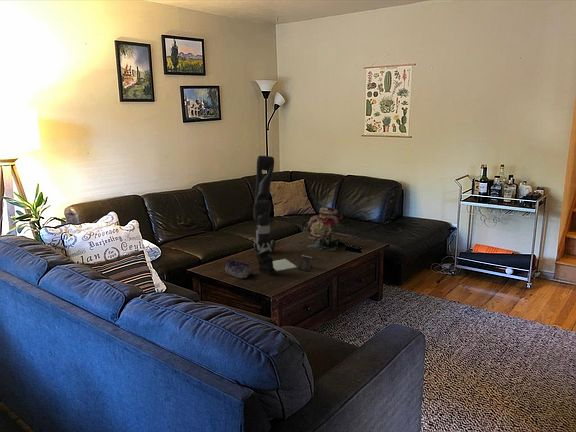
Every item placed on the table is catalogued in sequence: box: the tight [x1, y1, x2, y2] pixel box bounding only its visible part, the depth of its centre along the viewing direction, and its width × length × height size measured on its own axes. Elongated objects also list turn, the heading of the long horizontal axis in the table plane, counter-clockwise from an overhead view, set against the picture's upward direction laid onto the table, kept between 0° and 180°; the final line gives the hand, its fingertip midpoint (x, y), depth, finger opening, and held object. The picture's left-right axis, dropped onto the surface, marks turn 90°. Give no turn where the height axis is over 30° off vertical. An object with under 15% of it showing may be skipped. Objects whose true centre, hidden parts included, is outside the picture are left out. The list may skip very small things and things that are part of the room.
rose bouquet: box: [306, 206, 347, 252], centre depth 337 cm, size 26×29×30 cm
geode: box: [224, 257, 253, 279], centre depth 288 cm, size 20×12×10 cm, turn 53°
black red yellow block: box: [256, 250, 276, 276], centre depth 289 cm, size 4×13×15 cm, turn 41°
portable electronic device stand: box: [296, 254, 315, 273], centre depth 294 cm, size 9×8×8 cm
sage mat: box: [273, 258, 298, 272], centre depth 303 cm, size 18×14×1 cm
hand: (265, 257), depth 289 cm, fingers open, 5 cm apart
